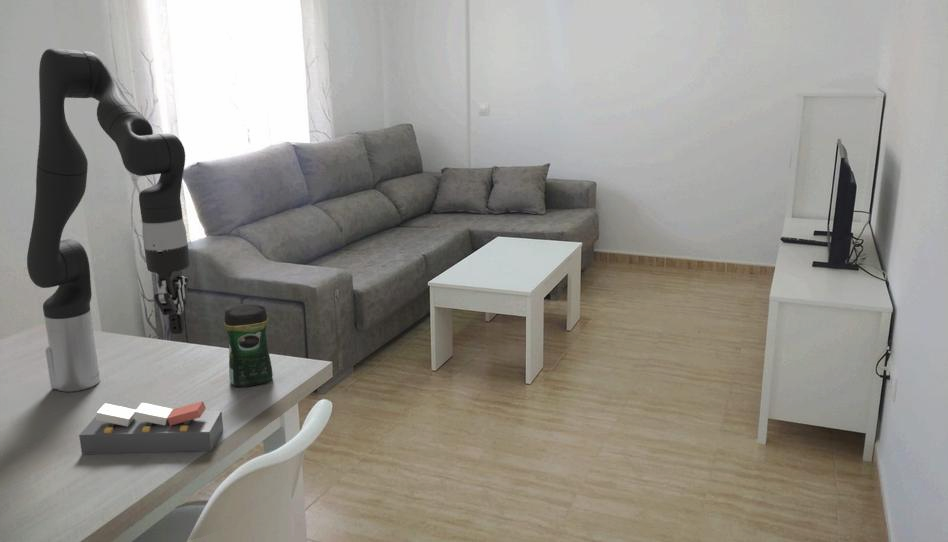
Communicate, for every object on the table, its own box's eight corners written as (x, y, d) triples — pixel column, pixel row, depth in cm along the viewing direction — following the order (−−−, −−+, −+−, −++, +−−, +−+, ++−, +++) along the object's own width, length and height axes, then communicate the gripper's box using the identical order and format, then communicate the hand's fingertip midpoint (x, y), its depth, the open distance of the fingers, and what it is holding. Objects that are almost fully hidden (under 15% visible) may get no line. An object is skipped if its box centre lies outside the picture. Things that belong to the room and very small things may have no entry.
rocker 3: (170, 425, 149) (167, 418, 149) (176, 416, 153) (173, 409, 152) (200, 417, 149) (197, 410, 149) (205, 408, 153) (202, 401, 152)
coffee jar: (270, 371, 185) (265, 296, 180) (274, 384, 178) (269, 307, 173) (228, 376, 182) (221, 301, 177) (230, 390, 175) (223, 312, 170)
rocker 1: (95, 419, 148) (96, 412, 147) (103, 410, 152) (105, 403, 151) (127, 426, 149) (129, 419, 148) (135, 417, 152) (136, 409, 152)
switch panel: (82, 454, 147) (78, 430, 146) (101, 431, 156) (97, 408, 154) (211, 450, 148) (209, 427, 147) (223, 428, 157) (221, 406, 156)
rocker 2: (133, 419, 148) (134, 411, 148) (140, 409, 152) (141, 402, 152) (165, 425, 149) (166, 418, 149) (171, 416, 153) (173, 409, 152)
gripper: (157, 237, 150) (168, 322, 154) (132, 253, 137) (145, 345, 142) (196, 235, 150) (207, 320, 155) (175, 251, 138) (187, 343, 142)
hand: (177, 332), depth 148 cm, fingers closed
